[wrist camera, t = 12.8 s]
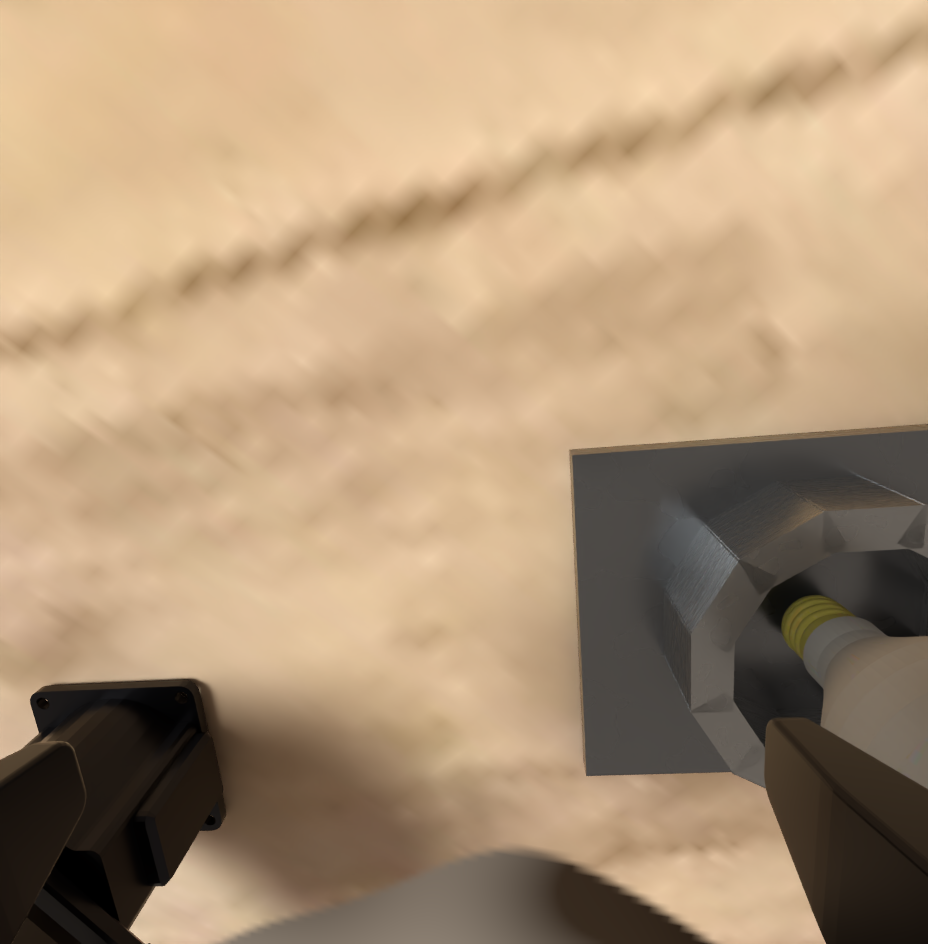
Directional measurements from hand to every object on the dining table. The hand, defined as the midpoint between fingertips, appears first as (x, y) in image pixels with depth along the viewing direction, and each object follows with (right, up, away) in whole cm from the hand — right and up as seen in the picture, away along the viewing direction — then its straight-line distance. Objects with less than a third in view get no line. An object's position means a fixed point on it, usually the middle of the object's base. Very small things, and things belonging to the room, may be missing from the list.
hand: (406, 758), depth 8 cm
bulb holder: (+11, -1, +13) cm, 17 cm away
